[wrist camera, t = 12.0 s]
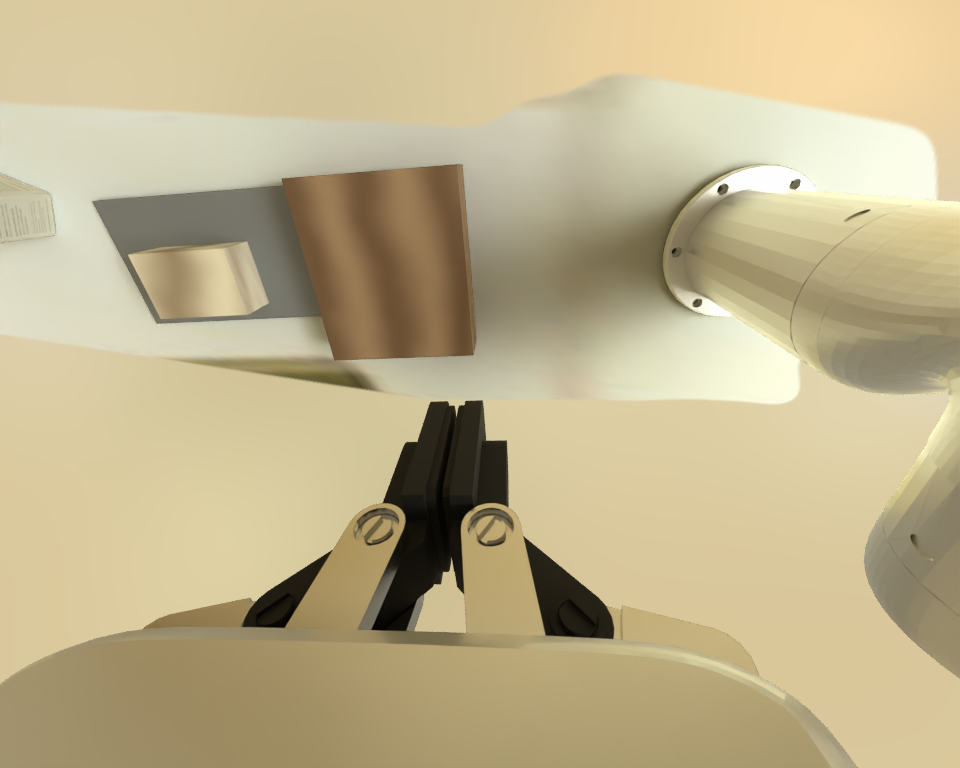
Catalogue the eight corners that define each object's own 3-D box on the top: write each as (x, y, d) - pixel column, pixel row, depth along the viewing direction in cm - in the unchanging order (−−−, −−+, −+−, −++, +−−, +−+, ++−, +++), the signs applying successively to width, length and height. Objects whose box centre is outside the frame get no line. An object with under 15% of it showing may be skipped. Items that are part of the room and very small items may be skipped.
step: (462, 164, 32) (457, 164, 28) (476, 338, 40) (473, 355, 36) (305, 177, 33) (281, 178, 30) (349, 344, 41) (334, 360, 38)
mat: (301, 184, 33) (298, 184, 33) (336, 313, 39) (334, 315, 39) (97, 200, 35) (92, 201, 35) (160, 322, 41) (156, 323, 41)
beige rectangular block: (127, 254, 33) (160, 247, 36) (160, 319, 36) (188, 307, 39) (222, 248, 33) (247, 241, 36) (248, 314, 36) (269, 302, 39)
